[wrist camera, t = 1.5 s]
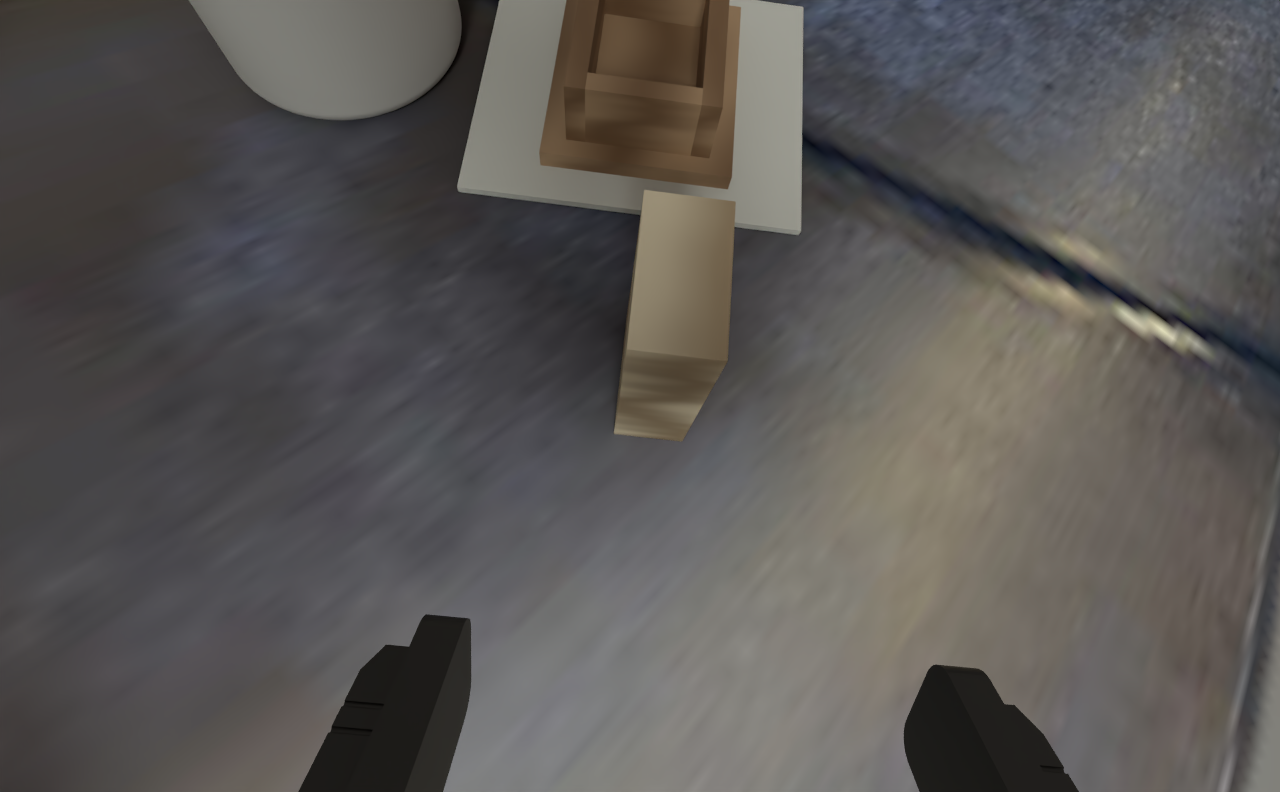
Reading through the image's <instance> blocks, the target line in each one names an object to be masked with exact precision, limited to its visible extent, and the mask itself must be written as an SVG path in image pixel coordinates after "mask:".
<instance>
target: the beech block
mask: <svg viewBox="0 0 1280 792" xmlns="http://www.w3.org/2000/svg"><path fill="white" fill-rule="evenodd" d="M735 207H736V202H735V201H727V200H720V199H712V198H704V197H697V196H689V195H681V194H674V193H666V192H658V191H650V190H644V194H643V202H642V209H641V216H640V224H639V231H638V238H637V246H636V253H635V260H634V268H633V275H632V282H631V290H630V297H629V304H628V312H627V319H626V328H625V337H624V346H623V355H622V364H621V373H620V382H619V391H618V400H617V409H616V418H615V427H614V434H620V435H628V436H637V437H646V438H655V439H664V440H673V441H683V439H684V437H685V435H686V434H687V432H688V430H689V428H690V427H691V425H692V423H693V421H694V420H695V418H696V416H697V414H698V413H699V411H700V409H701V407H702V405H703V404H704V402H705V400H706V398H707V397H708V395H709V393H710V391H711V390H712V388H713V386H714V384H715V383H716V381H717V379H718V377H719V375H720V374H721V372H722V370H723V368H724V367H725V365H726V363H727V361H728V344H729V324H730V304H731V285H732V265H733V246H734V226H735Z"/></svg>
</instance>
